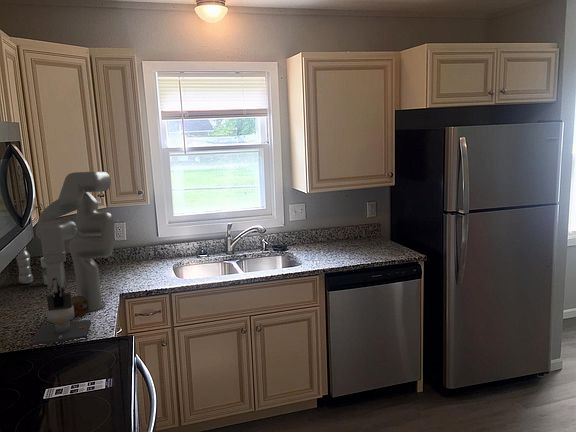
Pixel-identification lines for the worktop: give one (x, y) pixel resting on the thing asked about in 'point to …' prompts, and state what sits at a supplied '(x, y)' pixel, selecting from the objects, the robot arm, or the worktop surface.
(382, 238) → the worktop surface
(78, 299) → the tin
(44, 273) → the syrup box
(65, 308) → the rotary knob
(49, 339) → the mount
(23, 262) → the plastic bottle
